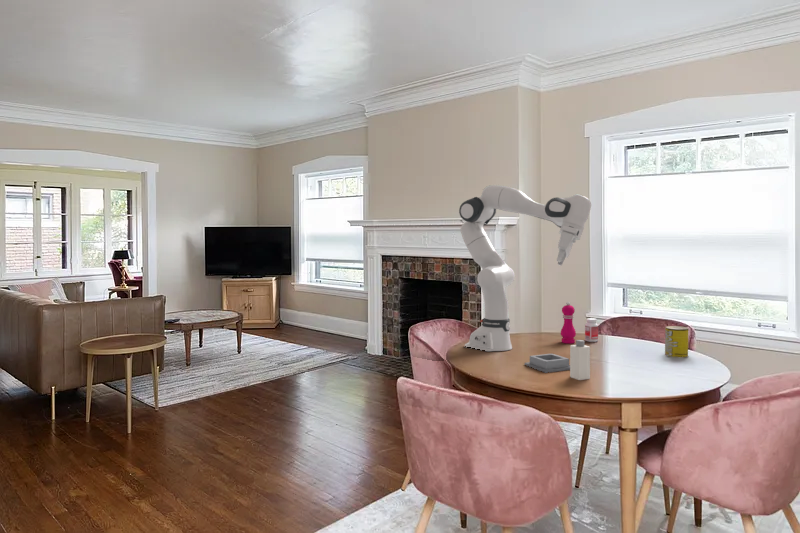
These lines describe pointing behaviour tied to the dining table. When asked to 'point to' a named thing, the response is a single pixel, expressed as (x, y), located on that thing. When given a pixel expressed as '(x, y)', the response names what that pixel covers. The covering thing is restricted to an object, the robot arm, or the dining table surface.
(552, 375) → the dining table surface
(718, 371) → the dining table surface
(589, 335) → the pill bottle
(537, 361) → the socket dock
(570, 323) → the pepper mill
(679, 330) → the yellow tin can
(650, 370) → the dining table surface
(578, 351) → the spigot peg
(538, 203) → the robot arm
